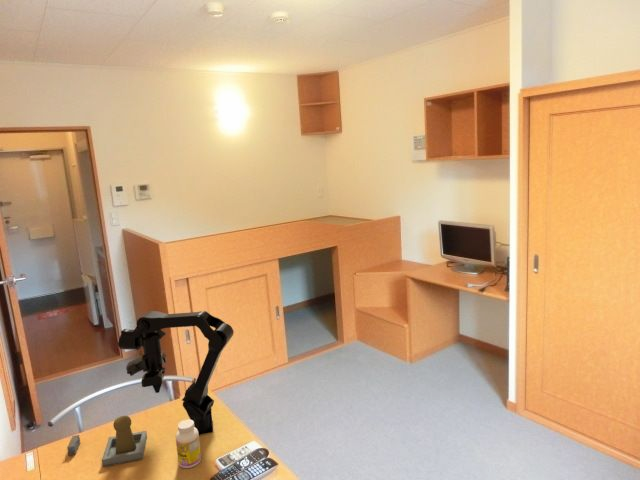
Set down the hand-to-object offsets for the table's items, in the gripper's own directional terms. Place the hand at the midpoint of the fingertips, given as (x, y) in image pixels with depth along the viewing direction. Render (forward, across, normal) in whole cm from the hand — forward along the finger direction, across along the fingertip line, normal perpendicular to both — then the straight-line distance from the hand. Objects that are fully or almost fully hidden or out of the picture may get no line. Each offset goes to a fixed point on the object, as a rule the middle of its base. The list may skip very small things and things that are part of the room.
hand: (157, 392), depth 151 cm
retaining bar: (+13, +4, -26) cm, 30 cm away
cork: (+13, +10, -10) cm, 19 cm away
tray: (+13, +10, -10) cm, 19 cm away
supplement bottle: (+13, +22, +10) cm, 28 cm away
